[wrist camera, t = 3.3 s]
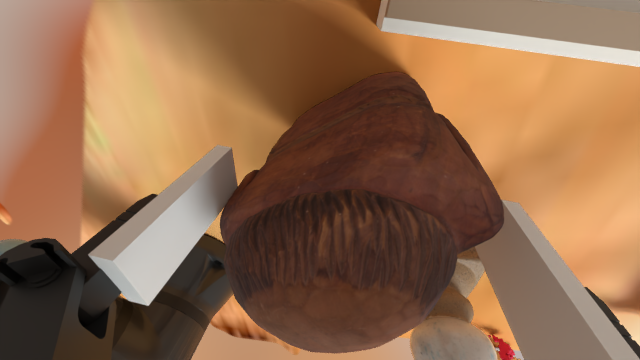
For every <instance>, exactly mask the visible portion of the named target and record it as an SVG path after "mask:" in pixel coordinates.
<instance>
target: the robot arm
mask: <svg viewBox="0 0 640 360" xmlns="http://www.w3.org/2000/svg"><path fill="white" fill-rule="evenodd" d="M237 188H238V186H237V180H236V173H235V166H234V160H233V153H232V148H231V147H226V146H221V145H217V146H216V147H214V148H213V149H212V150H211V151H210V152H209V153H207V154H206V155H205V156H204V157H203V158H201V159H200V160H199V161H198V162H197V163H196V164H194V165H193V166H192V167H191V168H190V169H188V170H187V171H186V172H185V173H184V174H183V175H181V176H180V177H179V178H178V179H177V180H176V181H174V182H173V183H172V184H171V185H170V186H168V187H167V188H166V189H165V190H164V191H163V192H161V193H160V194H159V195H156V194H151V195H149V196H147V197H145V198H143V199H141V200H139V201H137V202H136V203H135V204H133V205H132V206H131V207H130V208H128V209H127V210H126V212H123V213H122V214H121V215H120V216H118V217H117V218H116V220H115V221H114V220H113V221H112V222H111V223H110V224H108V225H107V226H106V227H105V228H103V229H102V230H101V231H100V232H98V233H97V234H96V235H95V236H93V237H92V238H91V239H90V240H88V241H87V242H86V243H85V244H83V245H82V246H81V247H80V248H78V249H77V250H76V251H74V252H73V253H72V254H70V253H69V252H68V251H67V250H66V249H65V248H64V247H63V246H62V245H61V244H60V243H59V242H58V241H57V240H56V239H50V238H43V239H36V240H32V241H29V242H27V241H24V240H18V239H8V240H1V241H0V360H191V358H192V356H193V353H194V352H195V350H196V348H197V346H198V344H199V342H200V340H201V339H202V337H203V335H204V332H205V330H206V329H207V327H208V325H209V323H210V321H211V319H212V318H213V316H214V315H215V314H216V313H217V312H218V311H219V310H220V308H221V307H222V306H223V305H224V304H225V303H226V302H227V301H228V300H229V298H230V297H231V296H232V295H233V291H232V288H231V285H230V282H229V279H228V278H227V274H226V271H225V267H224V261H223V260H224V257H225V251H226V245H224V244H223V243H221V242H219V241H218V240H216V239H213V238H211V237H209V236H206V235H203V234H204V233H205V231H206V230H207V229H208V227H209V226H210V225H211V224H212V222H213V221H214V220H215V218H216V217H217V216H218V214H219V213H220V212H221V211H222V209H223V208H224V207H225V205H226V204H227V202H228V200H229V199H230V197H231V196H232V195H233V193H234V191H235V190H236V189H237ZM501 201H502V203H503V208H504V224H503V226H502V228H501V229H500V231H499V232H498V233H497V234H496V235H495V236H494V237H493V238H491V239H489V240H487V241H485V242H483V243H481V244H479V245H477V246H475V249H476V251H477V253H478V255H479V258H480V260H481V262H482V264H483V267H484V269H485V271H486V274H487V276H488V278H489V280H490V283H491V285H492V287H493V289H494V292H495V294H496V296H497V299H498V301H499V303H500V305H501V308H502V310H503V312H504V314H505V317H506V319H507V321H508V324H509V326H510V328H511V330H512V333H513V335H514V337H515V339H516V342H517V344H518V346H519V349H520V351H521V353H522V355H523V358H524V360H640V346H639V345H638V344H637V343H636V341H634V340H632V339H631V337H632V336H631V335H630V334H629V333H628V331H627V330H626V329H625V328H624V326H623V325H620V324H619V322H620V321H619V320H618V319H617V318H616V316H615V315H614V314H613V313H612V311H611V310H610V309H609V308H608V306H607V305H606V304H605V303H604V302H603V301H602V300H601V299H599V298H598V297H597V296H596V295H595V294H594V293H593V292H592V291H590V290H589V289H588V288H587V287H583V285H582V284H581V283H580V281H579V280H578V279H577V278H576V276H575V275H574V274H573V272H572V271H571V270H570V268H569V267H568V266H567V265H566V263H565V262H564V261H563V259H562V258H561V257H560V256H559V254H558V253H557V252H556V250H555V249H554V248H553V247H552V245H551V244H550V243H549V241H548V240H547V239H546V238H545V236H544V235H543V234H542V232H541V231H540V230H539V228H538V227H537V226H536V225H535V223H534V222H533V221H532V219H531V218H530V217H529V216H528V214H527V213H526V212H525V210H524V209H523V208H522V207H521V205H520V204H519V203H516V202H511V201H506V200H501ZM121 293H122V294H123V295H124V296H125V297H126V298H127V300H126V299H124V298H123V297H121V296H120V294H121Z"/></svg>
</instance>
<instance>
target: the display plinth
mask: <svg viewBox="0 0 640 360" xmlns="http://www.w3.org/2000/svg"><path fill="white" fill-rule="evenodd" d="M376 26H377V27H378V28H379V29H380V30H381V31H385V32H392V33H399V34H406V35H414V36H421V37H428V38H435V39H443V40H450V41H457V42H464V43H471V44H479V45H486V46H493V47H500V48H508V49H515V50H522V51H529V52H536V53H544V54H551V55H558V56H565V57H573V58H580V59H587V60H594V61H601V62H609V63H616V64H623V65H630V66H637V67H640V0H381V4H380V9H379V14H378V18H377V23H376Z"/></svg>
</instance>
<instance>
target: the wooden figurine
mask: <svg viewBox="0 0 640 360" xmlns="http://www.w3.org/2000/svg"><path fill="white" fill-rule="evenodd" d="M503 224H504V208H503V203H502V201H501V199H500V197H499V195H498V193H497V191H496V189H495V187H494V185H493V184H492V182H491V180H490V178H489V177H488V175H487V174H486V172H485V170H484V169H483V167H482V165H481V164H480V162H479V160H478V159H477V157H476V156H475V154H474V153H473V151H472V149H471V148H470V146H469V144H468V143H467V142H466V140H465V139H464V138H463V137H462V135H461V134H460V133H459V132H458V130H457V129H456V128H455V127H454V126H453V125H452V124H451V122H450V121H449V120H448V119H447V118H445V117H444V116H443V115H441V114H438V113H435V112H434V111H433V108H432V106H431V103H430V101H429V99H428V98H427V96H426V93H425V91H424V90H423V89H422V88H421V87H420V85H419V84H418V83H417V82H416V80H414V79H413V78H411V77H410V76H408V75H407V74H404V73H401V72H389V73H381V74H376V75H373V76H370V77H368V78H365V79H363V80H361V81H360V82H358V83H356V84H355V85H353V86H351V87H350V88H348V89H346V90H344V91H342V92H341V93H339V94H337V95H335V96H334V97H332V98H330V99H328V100H326V101H324V102H322V103H320V104H318V105H316V106H314V107H313V108H311V109H310V110H308V111H307V112H305V113H304V114H303V115H301V116H300V117H299V118H298V119H297V120H296V122H295V123H294V124H293V125H292V127H291V128H290V129H288V130H287V131H286V132H285V133H284V134H283V135H282V136H281V137H280V139H279V140H278V142H277V143H276V144H275V146H274V147H273V148H272V150H271V152H270V154H269V155H268V157H267V161H266V163H265V165H264V166H263V167H262V168H261V169H260V170H254V171H252V172H250V173H249V174H247V175H246V176H245V178H244V179H243V180H242V182H241V183H240V185H239V186H238V188H237V189H236V190H235V191H234V193H233V195H232V196H231V197H230V199H229V200H228V202H227V204H226V205H225V207H224V209H223V211H222V215H221V219H220V229H221V235H222V238H223V241H224V243H225V244H226V251H225V257H224V260H223V261H224V267H225V271H226V274H227V278H228V279H229V282H230V285H231V288H232V291H233V294H234V296H235V299H236V300H237V302H238V303H239V304H240V305H241V307H242V308H243V309H244V310H245V312H246V313H247V314H248V315H249V317H250V318H251V319H252V320H253V321H254V322H255V323H256V324H257V325H258V326H260V327H261V328H263V329H264V330H266V331H267V332H269V333H271V334H272V335H274V336H276V337H277V338H279V339H281V340H282V341H284V342H286V343H288V344H290V345H292V346H295V347H298V348H300V349H303V350H307V351H310V352H320V353H347V352H354V351H361V350H367V349H372V348H376V347H378V346H381V345H383V344H385V343H387V342H389V341H391V340H393V339H395V338H397V337H399V336H401V335H402V334H404V333H406V332H408V331H409V330H411V329H413V328H415V327H417V326H418V325H420V324H421V323H422V322H423V321H424V320H425V318H426V317H427V316H428V315H429V313H430V312H431V311H432V309H433V308H434V307H435V305H436V303H437V302H438V300H439V299H440V297H441V295H442V294H443V292H444V290H445V289H446V288H447V286H448V284H449V283H450V280H451V278H452V277H453V274H454V272H455V269H456V263H457V255H458V254H460V253H462V252H464V251H466V250H468V249H470V248H472V247H474V246H477V245H479V244H481V243H483V242H485V241H487V240H489V239H491V238H493V237H494V236H495V235H496V234H497V233H498V232H499V231H500V229H501V228H502V226H503Z"/></svg>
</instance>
